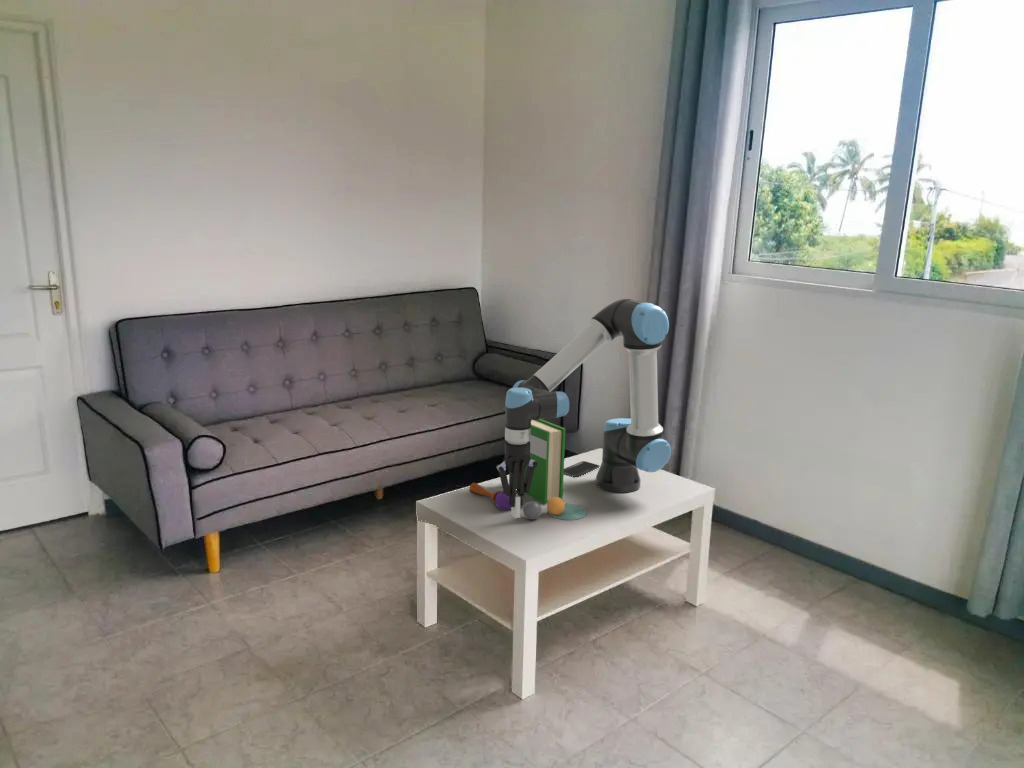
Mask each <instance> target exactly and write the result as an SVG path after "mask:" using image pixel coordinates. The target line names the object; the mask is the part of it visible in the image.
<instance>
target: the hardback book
mask: <svg viewBox="0 0 1024 768" xmlns="http://www.w3.org/2000/svg"><path fill="white" fill-rule="evenodd" d="M566 431H567V430H566V427H562V426H560V425H557V424H555V423H552V422H549V421H547V420H545V419H537V420H531V439H530V457H531V459H533V460H534V461H536V462H537V463H538V464H537V466H536V468H535V470H534V474H533V478H532V482H531V486H530V490H529V492H528V493H525V494H524V495H525V496H527V497H530V498H532V499H533V500H536V502H538V503H539V502H540V503H541V504H543V505H547V503H548V501H549V500H550V499H551V498H553V497H559V498H561V499H562V500H563V498H564V497H563V496H564V493H563V492H564V475H565V474H564V469H565V453H566V452H565V451H566V449H565V448H566ZM527 466H528V465H527ZM526 470H527V467H526V468H525V474H526ZM525 474H524V478H525ZM516 489H517V478H516ZM563 501H564V500H563Z"/></svg>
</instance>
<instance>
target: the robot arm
mask: <svg viewBox="0 0 1024 768" xmlns="http://www.w3.org/2000/svg"><path fill="white" fill-rule="evenodd" d="M588 321H589V322H588V325H587V326H586V327H585V328H584V329H583V330H582V331H580V332H579V334H577V335H576V336H575V337H574V338H572V340H571V341H569V343H568V344H566V345H565V346H564V347H563V348H562V349H560V351H559V352H557V353H556V354H555V355H554V356H553V357H552V358H550V359H549V360H548V361H547V362H546V363H545V364H544V365H543V366H542V367H541V368H539V369H538V370H537V371H536V372H535V373H534V374H532V375H531V377H529V378H528V379H527V380H524V379H523V380H517V382H515V383H514V385H513V386H512V387H511V388H509V389H508V390H507V391H506V396H505V402H504V406H505V418H504V419H505V425H504V440H505V441H504V457H503V461H502V463H500V464H496V466H495V468H496V469H497V471H498V473H499V479H500V484H501V488H502V491H503V493H504V494H506V495H507V496H509V505H510V506H511V512H510V513H511V516H512V517H514V519H517V518H521V506H523V503H524V502H523V501H524V499H523V498H524V497H525V496H526V494H525V493H528V492H529V490H530V486H531V482H532V478H533V474H534V470H535V468H536V466H537V464H538V463H537V462H536V461H534V460H533V459H531V457H530V439H531V420H537V419H542V420H545V419H553V418H554V419H556V418H561V417H565V416H566V415H567V414H568V413H569V411H570V400H569V396H568V395H567V393H565V392H564V391H554V389H556V388H557V386H558V385H560V384H561V383H562V382H563V381H564V380H565V379H567V377H569V376H570V375H571V374H572V373H573V372H574V371H575V370H576V369H578V367H580V366H581V365H582V364H583V363H584V362H585V361H587V359H588V358H589V357H590V356H592V355H593V354H594V353H595V352H596V351H597V350H598V349H600V348H601V347H602V346H603V345H604V344H605V343H608V344H609V343H612V341H613V340H614V339H616V338H617V337H621V336H622V339H623V341H622V343H623V349H625V350H626V351H627V352H628V368H629V369H628V370H629V372H628V373H629V404H630V418H626V417H625V418H622V417H621V418H612V419H608V420H606V421H605V422H604V425H603V431H602V432H603V435H602V436H603V437H602V438H603V439H602V456H601V458H602V459H601V464H600V465H599V466H600V468H599V469H598V471H597V474H596V477H595V485H596V486H597V487H598V488H600V489H602V490H605V491H609V492H611V493H612V492H613V493H631V492H636V491H638V490H639V489H640V488H641V476H640V473H639V471H640V470H641V471H644V472H646V473H655V472H658V471H660V470H662V469H663V468H664V467H665V465H666V464H668V462H669V460H670V458H671V453H672V449H671V448H672V447H671V445H670V443H669V442H668V441H667V440H666V439H664V427H663V426H662V425H661V424H660V423H659V400H658V399H659V398H658V397H659V396H658V394H659V391H658V354H657V353H658V350H659V349H660V348H661V347H662V346H663V345H662V342H663V341H664V340H665V339H666V335H668V332H669V329H670V323H669V317H668V315H667V313H666V311H665V310H664V309H662V308H661V307H660V306H659V305H656V304H653V303H650V302H643V301H639V300H634V299H631V298H621V299H619V300H618V299H617V300H616V301H613V302H611V303H610V304H608V305H606V306H605V307H604V308H602V309H601V310H600V311H598V312H597V313H596V314H594V316H592V318H590V319H589V320H588ZM527 465H528V466H527ZM506 467H507V468H506ZM526 467H527V470H526V474H525V468H526ZM506 470H508V474H509V475H507V472H506ZM524 474H525V478H524ZM508 476H509V477H508ZM516 478H517V490H516Z"/></svg>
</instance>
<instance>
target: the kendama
mask: <svg viewBox="0 0 1024 768" xmlns="http://www.w3.org/2000/svg"><path fill="white" fill-rule="evenodd" d="M469 492H470V493H472V494H476V495H477V494H478V495H483V496H485V497H491V499H492V501H493V503H494V504H495V505H496V507H497V508H499V509H500V510H502V511H507V510H510V509H512V507H511V506H510V505H509V496H507V495H506V494H504V493H503V490H502V491H501V490H499V491H496V492H491V491H489V490H488V489H486V488H485V487H483V486H481V485H479V484H477V483H476V482H472V483H470V485H469Z"/></svg>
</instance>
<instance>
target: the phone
mask: <svg viewBox="0 0 1024 768" xmlns="http://www.w3.org/2000/svg"><path fill="white" fill-rule="evenodd" d="M600 466H601V465H599V464H596V463H593V462H589V461H584V460H582V461H579V462H577V463H574V464H571V465H570V466H568V467H564V475H565V474H566V475H565V476H568V475H569V476H568V477H572V476H573V477H572V478H575V477H578V478H580V477H582V476H581V475H583V476H584V474H585V475H587V474H589V473H592V472H594V471H596V470H598V469H597V468H599V467H600ZM595 469H596V470H595ZM593 470H594V471H593ZM591 471H592V472H591ZM588 472H589V473H588ZM586 473H587V474H586ZM579 476H580V477H579Z"/></svg>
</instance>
